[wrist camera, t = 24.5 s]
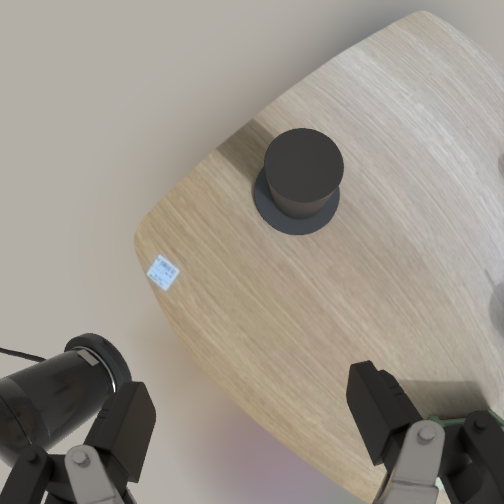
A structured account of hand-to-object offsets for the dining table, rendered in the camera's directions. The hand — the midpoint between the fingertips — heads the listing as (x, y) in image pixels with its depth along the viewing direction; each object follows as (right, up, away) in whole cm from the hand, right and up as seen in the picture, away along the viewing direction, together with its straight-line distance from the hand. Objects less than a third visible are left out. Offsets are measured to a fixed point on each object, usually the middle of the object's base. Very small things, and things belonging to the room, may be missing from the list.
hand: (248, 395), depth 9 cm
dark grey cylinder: (+5, +12, +19) cm, 23 cm away
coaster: (+5, +12, +19) cm, 23 cm away
